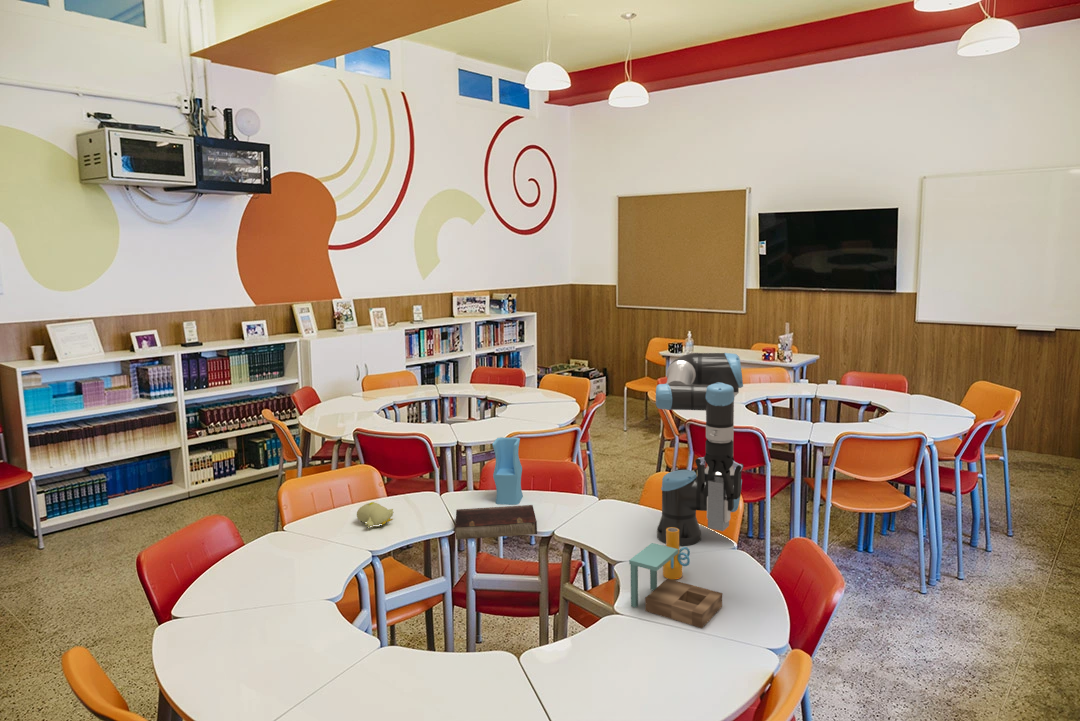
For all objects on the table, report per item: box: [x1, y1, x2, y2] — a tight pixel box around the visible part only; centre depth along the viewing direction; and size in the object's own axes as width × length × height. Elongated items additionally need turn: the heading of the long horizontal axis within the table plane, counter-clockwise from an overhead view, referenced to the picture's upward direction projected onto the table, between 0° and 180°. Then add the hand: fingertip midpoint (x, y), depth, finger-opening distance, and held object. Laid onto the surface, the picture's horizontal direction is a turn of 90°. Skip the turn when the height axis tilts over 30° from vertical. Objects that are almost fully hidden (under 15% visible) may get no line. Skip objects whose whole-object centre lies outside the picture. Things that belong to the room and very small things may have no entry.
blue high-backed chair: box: [492, 436, 524, 506], centre depth 292 cm, size 10×10×25 cm
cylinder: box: [662, 527, 691, 581], centre depth 223 cm, size 12×10×15 cm
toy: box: [356, 502, 394, 528], centre depth 273 cm, size 15×9×15 cm
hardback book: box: [454, 504, 538, 540], centre depth 267 cm, size 29×19×5 cm, turn 95°
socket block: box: [644, 578, 723, 629], centre depth 204 cm, size 14×17×4 cm
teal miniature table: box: [628, 542, 678, 608], centre depth 208 cm, size 14×8×14 cm, turn 144°
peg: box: [707, 477, 730, 532], centre depth 205 cm, size 4×4×14 cm
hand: (718, 518), depth 206 cm, fingers closed on peg, 4 cm apart
